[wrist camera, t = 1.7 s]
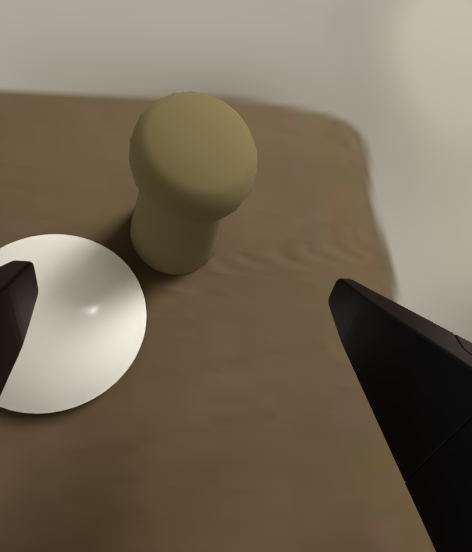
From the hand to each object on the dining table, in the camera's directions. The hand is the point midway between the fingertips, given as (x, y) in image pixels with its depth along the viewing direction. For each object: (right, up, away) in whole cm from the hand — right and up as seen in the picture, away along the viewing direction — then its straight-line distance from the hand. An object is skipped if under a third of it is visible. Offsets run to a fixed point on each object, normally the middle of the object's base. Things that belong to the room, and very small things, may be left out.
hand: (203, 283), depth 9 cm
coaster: (-10, -2, +9) cm, 14 cm away
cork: (-3, +3, +12) cm, 13 cm away
